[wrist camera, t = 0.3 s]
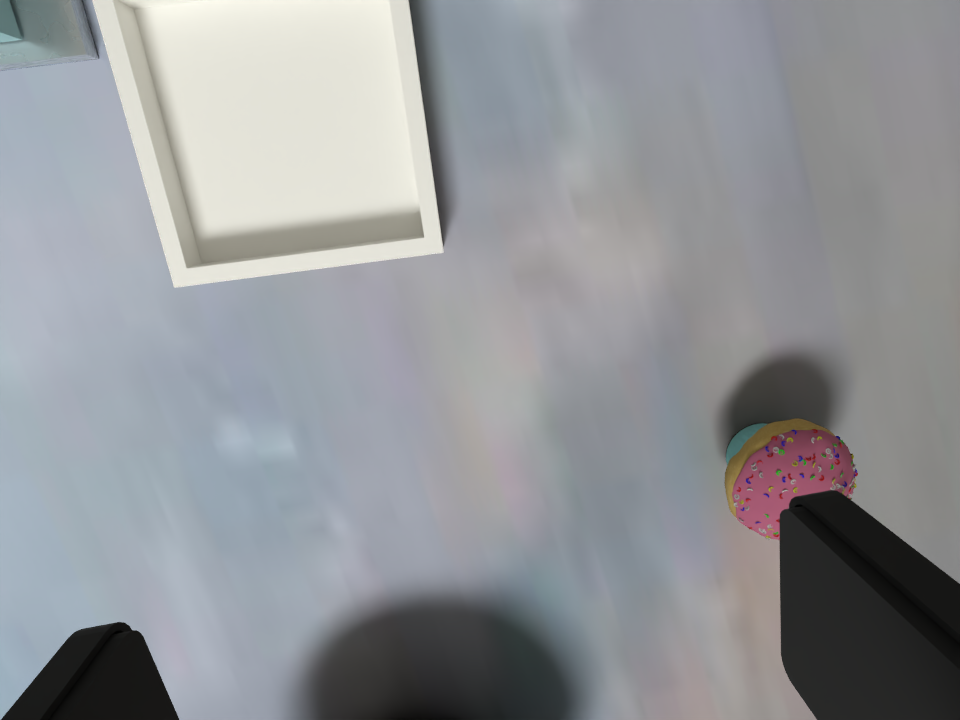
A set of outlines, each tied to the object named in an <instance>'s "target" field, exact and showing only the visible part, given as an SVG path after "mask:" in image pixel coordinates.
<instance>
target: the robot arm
mask: <svg viewBox="0 0 960 720" xmlns="http://www.w3.org/2000/svg"><path fill="white" fill-rule="evenodd" d="M779 522H780V601H781V656H782V661H783V665H784V668H785V671H786V673H787V675H788V677H789V679H790V681H791V683H792V684H793V686H794V687H795V689H796V690H797V691H798V693H799V694H800V696H801V697H802V699H803V700H804V701H805V703H806V704H807V706H808V707H809V709H810V710H811V711H812V713H813V714H814V716H815V717H816V719H817V720H960V584H959V583H958V582H956V581H955V580H954V579H952V578H951V577H950V576H949V575H947V574H946V573H945V572H943V571H942V570H941V569H939V568H938V567H937V566H936V565H934V564H933V563H932V562H930V561H929V560H928V559H927V558H925V557H924V556H923V555H921V554H920V553H919V552H917V551H916V550H915V549H914V548H912V547H911V546H910V545H908V544H907V543H906V542H904V541H903V540H902V539H901V538H899V537H898V536H897V535H895V534H894V533H893V532H891V531H890V530H889V529H888V528H886V527H885V526H884V525H882V524H881V523H880V522H879V521H877V520H876V519H875V518H873V517H872V516H871V515H869V514H868V513H867V512H866V511H864V510H863V509H862V508H860V507H859V506H858V505H856V504H855V503H854V502H853V501H851V500H850V499H849V498H847V497H846V496H845V495H843V494H842V493H840V492H838V491H836V490H828V491H823V492H818V493H812V494H807V495H801V496H796V497H794V498H792V499H791V501H790V503H789V509H784V510H782V511H781V513H780V519H779ZM1 720H179V718H178V716H177V713H176V711H175V709H174V706H173V704H172V702H171V700H170V697H169V695H168V693H167V690H166V688H165V686H164V683H163V681H162V679H161V676H160V674H159V672H158V670H157V667H156V665H155V663H154V660H153V658H152V656H151V653H150V651H149V649H148V646H147V644H146V642H145V640H144V637H143V636H142V634H141V633H140V632H138V631H134V630H133V631H132V629H131V628H130V626H129V625H127V624H126V623H122V622H117V623H112V624H107V625H101V626H96V627H90V628H85V629H81V630H78V631H76V632H74V633H73V634H72V635H71V636H70V637H69V638H68V639H67V640H66V642H65V643H64V644H63V645H62V646H61V648H60V649H59V650H58V651H57V653H56V654H55V655H54V656H53V657H52V659H51V660H50V661H49V662H48V663H47V665H46V666H45V667H44V668H43V670H42V671H41V672H40V673H39V674H38V676H37V677H36V678H35V679H34V680H33V682H32V683H31V684H30V685H29V686H28V688H27V689H26V690H25V691H24V693H23V694H22V695H21V696H20V697H19V699H18V700H17V701H16V702H15V703H14V705H13V706H12V707H11V708H10V710H9V711H8V712H7V713H6V714H5V716H4V717H3V718H2V719H1Z"/></svg>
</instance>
